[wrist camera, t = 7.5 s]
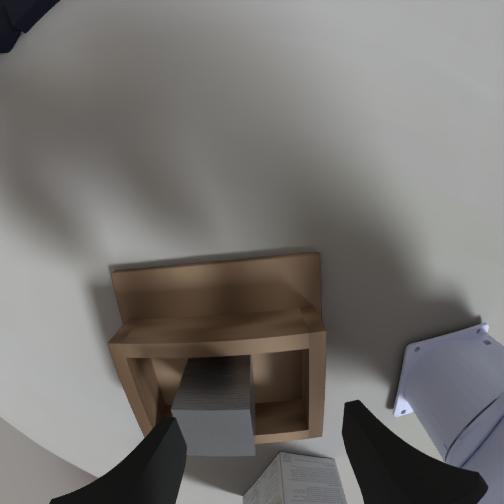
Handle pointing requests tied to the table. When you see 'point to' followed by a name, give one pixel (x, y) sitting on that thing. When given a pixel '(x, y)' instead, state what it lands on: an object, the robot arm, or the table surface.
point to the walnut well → (226, 336)
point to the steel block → (217, 406)
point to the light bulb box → (297, 482)
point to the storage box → (19, 18)
